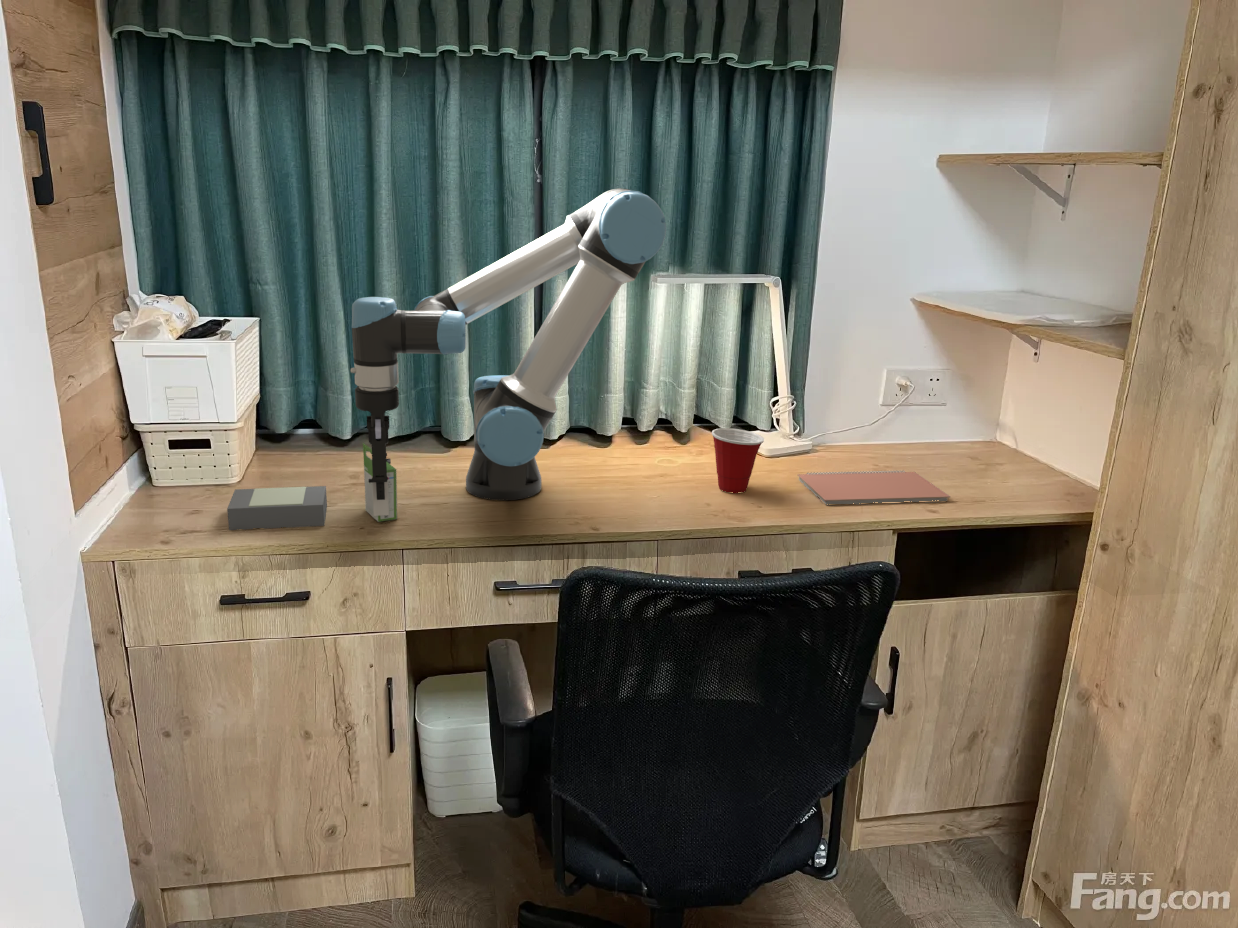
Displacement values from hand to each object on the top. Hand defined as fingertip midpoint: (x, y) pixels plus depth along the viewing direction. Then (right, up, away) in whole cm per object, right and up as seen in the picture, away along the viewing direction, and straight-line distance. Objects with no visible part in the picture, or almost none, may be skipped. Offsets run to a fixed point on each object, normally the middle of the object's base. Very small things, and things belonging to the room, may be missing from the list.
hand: (381, 506), depth 179 cm
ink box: (0, -2, +1) cm, 2 cm away
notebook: (+97, +2, +25) cm, 100 cm away
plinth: (-18, -2, -3) cm, 18 cm away
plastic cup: (+68, +2, +22) cm, 71 cm away
